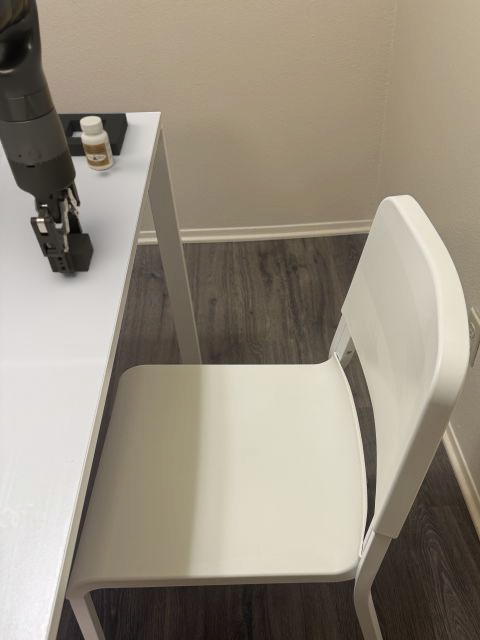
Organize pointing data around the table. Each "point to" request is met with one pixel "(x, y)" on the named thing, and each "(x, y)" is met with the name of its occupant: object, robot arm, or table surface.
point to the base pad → (111, 124)
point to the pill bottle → (96, 143)
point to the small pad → (77, 251)
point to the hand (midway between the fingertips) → (72, 256)
